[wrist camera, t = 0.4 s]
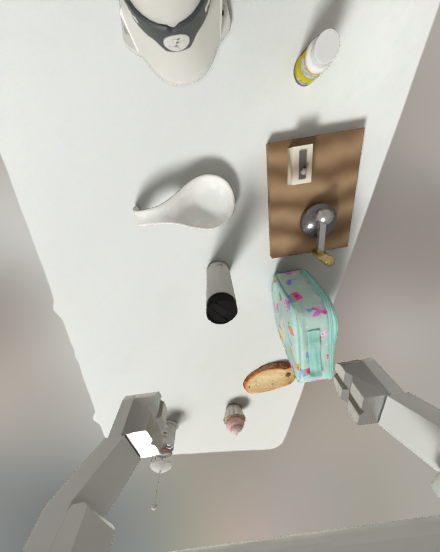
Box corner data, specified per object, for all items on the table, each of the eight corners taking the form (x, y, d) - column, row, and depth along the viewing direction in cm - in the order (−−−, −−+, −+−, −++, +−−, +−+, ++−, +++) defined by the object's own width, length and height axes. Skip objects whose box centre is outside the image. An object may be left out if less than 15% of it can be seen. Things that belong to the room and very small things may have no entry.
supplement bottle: (314, 48, 38) (340, 17, 30) (319, 79, 40) (345, 57, 32) (289, 62, 38) (309, 35, 31) (296, 92, 40) (316, 73, 33)
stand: (266, 144, 44) (274, 140, 38) (358, 129, 44) (381, 122, 38) (270, 255, 56) (277, 264, 50) (342, 244, 55) (358, 252, 50)
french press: (183, 425, 90) (174, 508, 67) (167, 436, 93) (154, 519, 71) (164, 417, 86) (149, 501, 64) (149, 429, 90) (129, 513, 67)
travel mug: (216, 255, 55) (221, 293, 37) (233, 270, 57) (245, 313, 39) (201, 270, 57) (198, 314, 39) (217, 284, 59) (222, 332, 41)
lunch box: (306, 331, 69) (344, 391, 50) (277, 338, 70) (303, 400, 50) (302, 261, 57) (350, 305, 38) (266, 270, 58) (295, 317, 39)
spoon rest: (228, 168, 46) (231, 167, 40) (237, 220, 51) (241, 226, 45) (128, 192, 47) (116, 194, 41) (147, 240, 52) (138, 249, 46)
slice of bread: (240, 387, 81) (241, 396, 77) (255, 355, 73) (257, 364, 70) (281, 393, 84) (284, 402, 80) (300, 363, 76) (304, 371, 73)
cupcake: (226, 416, 89) (228, 443, 80) (219, 405, 85) (220, 432, 76) (247, 411, 88) (251, 438, 79) (240, 399, 84) (244, 425, 75)
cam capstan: (300, 205, 48) (316, 210, 41) (333, 200, 48) (356, 204, 41) (298, 256, 54) (312, 269, 47) (328, 251, 54) (347, 263, 47)
